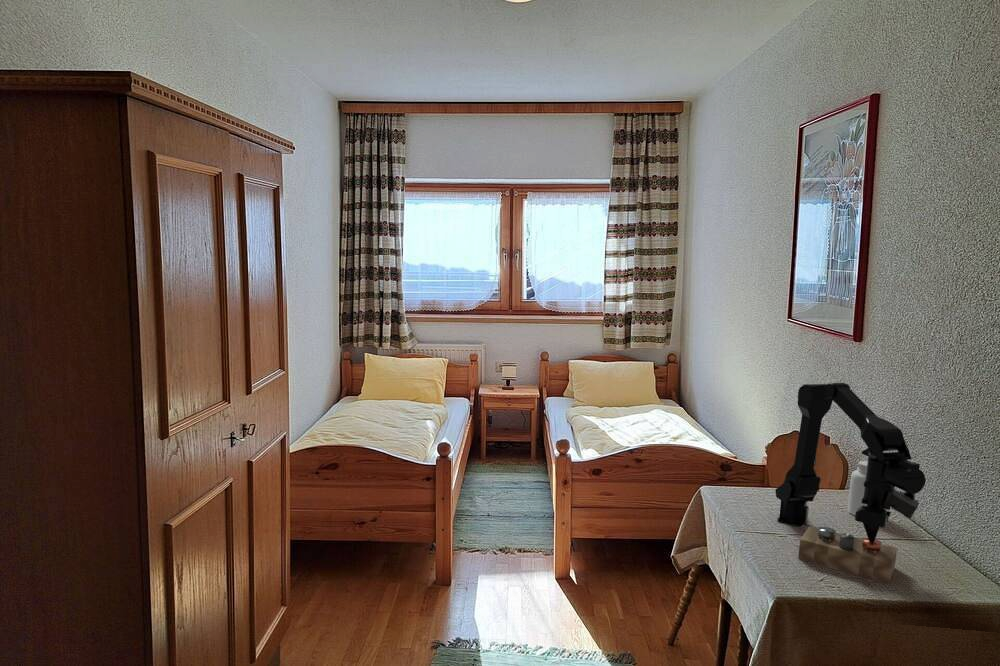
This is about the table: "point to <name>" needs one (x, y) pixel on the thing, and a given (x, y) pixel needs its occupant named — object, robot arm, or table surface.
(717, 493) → the table surface
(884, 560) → the mount
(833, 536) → the knob left
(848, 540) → the dial
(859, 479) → the pill bottle
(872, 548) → the knob right
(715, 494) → the table surface
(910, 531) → the table surface
